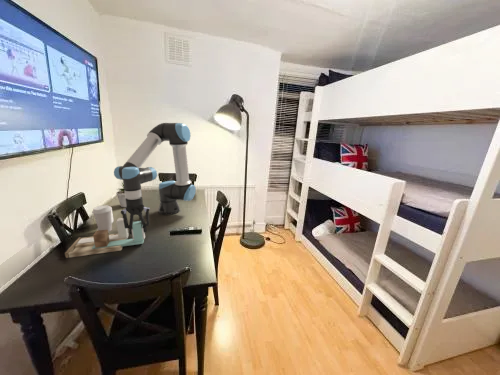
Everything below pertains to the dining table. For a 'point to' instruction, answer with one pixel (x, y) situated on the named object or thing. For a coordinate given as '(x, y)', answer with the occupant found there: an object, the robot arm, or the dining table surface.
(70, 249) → the board
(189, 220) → the dining table surface
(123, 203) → the potted plant
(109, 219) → the coffee cup
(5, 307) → the dining table surface
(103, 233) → the block
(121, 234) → the strip grey
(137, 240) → the strip teal
